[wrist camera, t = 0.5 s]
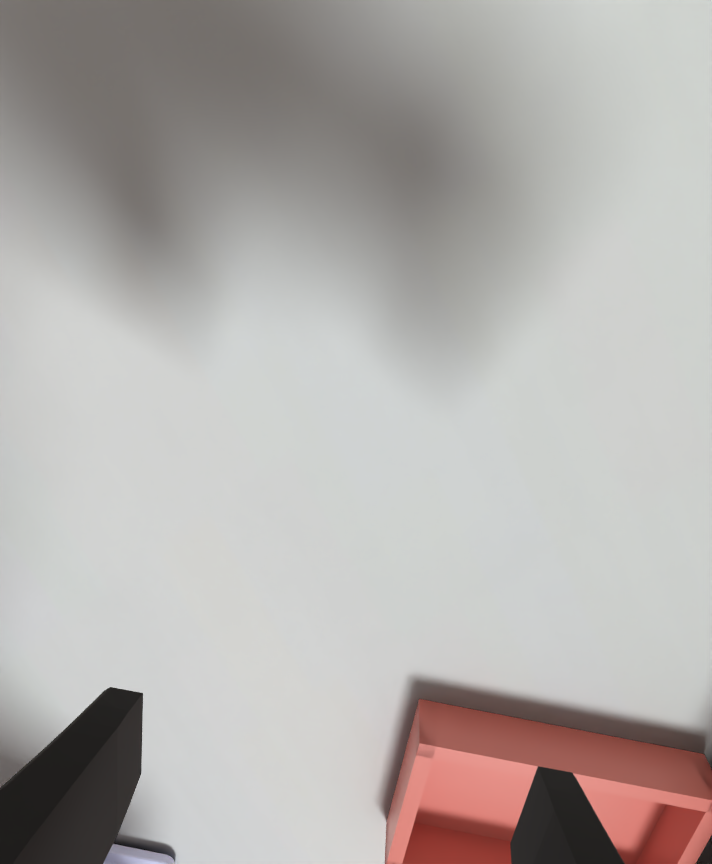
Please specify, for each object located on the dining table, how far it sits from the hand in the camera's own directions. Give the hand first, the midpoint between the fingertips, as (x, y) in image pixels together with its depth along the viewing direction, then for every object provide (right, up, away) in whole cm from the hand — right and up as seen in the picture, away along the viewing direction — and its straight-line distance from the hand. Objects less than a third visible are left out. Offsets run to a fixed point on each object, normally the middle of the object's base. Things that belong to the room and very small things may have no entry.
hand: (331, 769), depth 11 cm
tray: (+8, -8, +14) cm, 18 cm away
